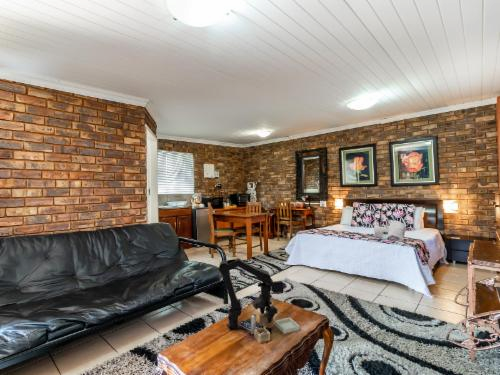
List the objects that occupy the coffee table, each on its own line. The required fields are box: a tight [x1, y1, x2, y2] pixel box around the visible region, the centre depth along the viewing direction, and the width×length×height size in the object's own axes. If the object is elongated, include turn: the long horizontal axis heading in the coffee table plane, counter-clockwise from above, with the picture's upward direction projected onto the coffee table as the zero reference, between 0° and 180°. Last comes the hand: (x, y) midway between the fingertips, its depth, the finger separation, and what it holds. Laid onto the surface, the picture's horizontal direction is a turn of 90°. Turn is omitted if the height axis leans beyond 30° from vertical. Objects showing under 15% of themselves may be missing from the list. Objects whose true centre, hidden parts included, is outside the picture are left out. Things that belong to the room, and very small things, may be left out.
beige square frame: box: [253, 327, 271, 344], centre depth 147 cm, size 6×6×4 cm
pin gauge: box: [250, 313, 257, 335], centre depth 153 cm, size 3×3×10 cm
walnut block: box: [258, 312, 274, 329], centre depth 161 cm, size 6×6×6 cm
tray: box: [274, 317, 300, 335], centre depth 158 cm, size 10×10×2 cm
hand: (265, 319), depth 161 cm, fingers open, 9 cm apart
